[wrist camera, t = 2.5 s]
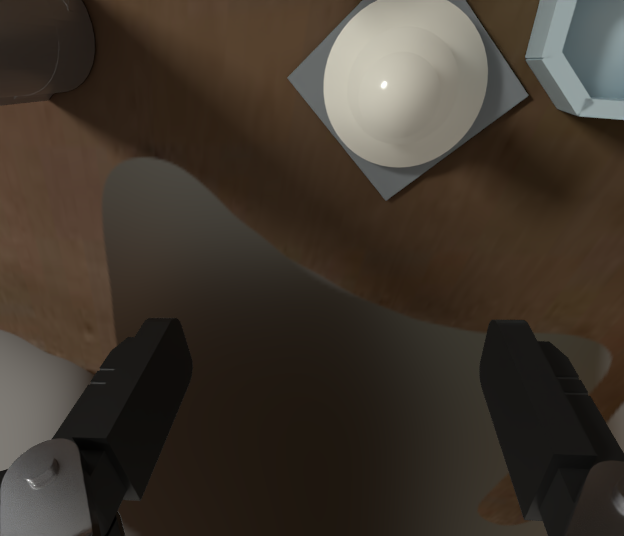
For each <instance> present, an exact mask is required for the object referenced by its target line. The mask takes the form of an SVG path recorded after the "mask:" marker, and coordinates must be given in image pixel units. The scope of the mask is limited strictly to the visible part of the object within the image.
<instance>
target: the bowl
mask: <svg viewBox="0 0 624 536" xmlns="http://www.w3.org/2000/svg"><path fill="white" fill-rule="evenodd" d="M525 58H527V59H526V62H527V63H528V65H529V67H530V68H531V70H532V71H533V73H534V74H535V76H536V77H537V79H538V80H539V82H540V83H541V85H542V86H543V88H544V90H545V91H546V93H547V94H548V96H549V97H550V99H551V100H552V102H553V103H554V105H555V106H556V108H557V109H559V110H561V111H564V112H567V113H571V114H574V115H577V116H581V117H594V118H607V119H619V120H624V0H540V2H539V6H538V10H537V14H536V18H535V22H534V25H533V29H532V33H531V37H530V41H529V45H528V49H527V52H526V56H525Z"/></svg>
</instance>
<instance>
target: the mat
mask: <svg viewBox="0 0 624 536" xmlns="http://www.w3.org/2000/svg"><path fill="white" fill-rule="evenodd" d="M375 1H377V0H362V1H361V2H360V3H359V4H358V5H357V7H356V8H355V9H354V10H353V11H352V12H351V13H350V14H349V15H348V16H347V17H346V18H345V19H344V20H343V21H342V22H341V23H340V24H339V25H338V26H337V27H336V28H335V29H334V30H333V31H332V32H331V33H330V34H329V35H328V36H327V37H326V38H325V39H324V41H323V42H322V43H321V44H320V45H319V46H318V47H317V48H316V49H315V50H314V51H313V52H312V53H311V54H310V55H309V56H308V57H307V58H306V59H305V60H304V61H303V62H302V63H301V64H300V65H299V66H298V67H297V68H296V69H295V70H294V71H293V72H292V73H291V75H290V76H289V77H288V79H289V81H290V82H291V83H292V84H293V86H294V87H295V88H296V89H297V91H298V92H299V93H300V94H301V96H302V97H303V98H304V99H305V101H306V102H307V103H308V104H309V106H310V107H311V108H312V109H313V111H314V112H315V113H316V114H317V116H318V117H319V118H320V119H321V121H322V122H323V123H324V124H325V126H326V127H327V128H328V129H329V131H330V132H331V133H332V134H333V135H334V137H335V138H336V139H337V140H338V142H339V143H340V144H341V145H342V147H343V148H344V149H345V150H346V152H347V153H348V154H349V155H350V157H351V158H352V159H353V160H354V162H355V163H356V164H357V165H358V167H359V168H360V169H361V170H362V172H363V173H364V174H365V175H366V177H367V178H368V179H369V180H370V182H371V183H372V184H373V185H374V187H375V188H376V189H377V190H378V192H379V193H380V194H381V195H382V197H383V198H384V199H385V200H388V199H389V198H391V197H392V196H393V195H395V194H396V193H397V192H399V191H400V190H401V189H403V188H404V187H405V186H407V185H408V184H410V183H411V182H412V181H414V180H415V179H416V178H418V177H419V176H420V175H422V174H423V173H424V172H426V171H427V170H428V169H430V168H431V167H433V166H434V165H435V164H437V163H438V162H439V161H441V160H442V159H443V158H445V157H446V156H447V155H449V154H450V153H452V152H453V151H454V150H456V149H457V148H458V147H460V146H461V145H462V144H464V143H465V142H466V141H468V140H469V139H471V138H472V137H473V136H475V135H476V134H477V133H479V132H480V131H481V130H483V129H484V128H485V127H487V126H488V125H489V124H491V123H492V122H494V121H495V120H496V119H498V118H499V117H500V116H502V115H503V114H504V113H506V112H507V111H508V110H510V109H511V108H513V107H514V106H515V105H517V104H518V103H519V102H521V101H522V100H523V99H525V98H526V97H527V96H529V95H528V94H527V92H526V91H525V89H524V88H523V86H522V85H521V83H520V82H519V80H518V79H517V77H516V76H515V74H514V73H513V71H512V70H511V68H510V67H509V65H508V64H507V62H506V61H505V59H504V58H503V56H502V55H501V53H500V52H499V50H498V49H497V47H496V46H495V44H494V43H493V41H492V40H491V38H490V37H489V35H488V33H487V32H486V30H485V29H484V27H483V26H482V24H481V23H480V21H479V20H478V18H477V17H476V15H475V14H474V12H473V11H472V9H471V8H470V6H469V5H468V3H467V2H466V0H447V1H449V2H451V3H452V4H454V5H455V6H457V7H458V8H459V9H461V10H462V11H463V12H464V13H465V14H466V15H467V16H468V17H469V19H470V20H471V21H472V23H473V24H474V25H475V27H476V29H477V31H478V32H479V34H480V36H481V39H482V42H483V44H484V47H485V52H486V56H487V65H488V81H487V88H486V94H485V97H484V100H483V104H482V106H481V109H480V111H479V113H478V116H477V117H476V119H475V121H474V123H473V124H472V126H471V127H470V129H469V130H468V131H467V133H466V134H465V135H464V136H463V138H462V139H461V140H460V141H459V142H458V143H457V144H456V145H454V146H453V147H452V148H451V149H450V150H448V151H447V152H445V153H444V154H442V155H441V156H439V157H437V158H435V159H433V160H431V161H429V162H426V163H423V164H420V165H416V166H411V167H401V168H399V167H387V166H381V165H378V164H375V163H371V162H369V161H367V160H365V159H363V158H361V157H360V156H358V155H357V154H355V153H354V152H353V151H352V150H350V149H349V148H348V147H347V146H346V145H345V144H344V143H343V142H342V140H341V139H340V138H339V136H338V135H337V133H336V132H335V130H334V128H333V126H332V124H331V122H330V120H329V117H328V114H327V111H326V106H325V101H324V92H323V91H324V74H325V68H326V64H327V60H328V57H329V54H330V51H331V49H332V47H333V45H334V43H335V41H336V39H337V37H338V36H339V34H340V33H341V31H342V30H343V28H344V27H345V26H346V25H347V23H348V22H349V21H350V20H351V19H352V18H353V17H354V16H355V15H356V14H357V13H359V12H360V11H361V10H362V9H364V8H365V7H367V6H368V5H369V4H371V3H373V2H375Z"/></svg>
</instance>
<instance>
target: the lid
mask: <svg viewBox="0 0 624 536" xmlns="http://www.w3.org/2000/svg"><path fill="white" fill-rule="evenodd" d="M487 81H488V65H487V56H486V52H485V47H484V44H483V42H482V39H481V36H480V34H479V32H478V31H477V29H476V27H475V25H474V24H473V23H472V21H471V20H470V19H469V17H468V16H467V15H466V14H465V13H464V12H463V11H462V10H461V9H459V8H458V7H457V6H455V5H454V4H452V3H451V2H449V1H447V0H377V1H375V2H373V3H371V4H369V5H368V6H367V7H365V8H364V9H362V10H361V11H360V12H359V13H357V14H356V15H355V16H354V17H353V18H352V19H351V20H350V21H349V22H348V23H347V25H346V26H345V27H344V28H343V30H342V31H341V33H340V34H339V36H338V37H337V39H336V41H335V43H334V45H333V47H332V49H331V51H330V54H329V57H328V60H327V64H326V68H325V74H324V91H323V92H324V101H325V106H326V111H327V114H328V117H329V120H330V122H331V124H332V126H333V128H334V130H335V132H336V133H337V135H338V136H339V138H340V139H341V140H342V142H343V143H344V144H345V145H346V146H347V147H348V148H349V149H350V150H352V151H353V152H354V153H355V154H357V155H358V156H360V157H361V158H363V159H365V160H367V161H369V162H371V163H375V164H378V165H381V166H387V167H399V168H401V167H411V166H416V165H420V164H423V163H426V162H429V161H431V160H433V159H435V158H437V157H439V156H441V155H442V154H444V153H445V152H447V151H448V150H450V149H451V148H452V147H453V146H454V145H456V144H457V143H458V142H459V141H460V140H461V139H462V138H463V136H464V135H465V134H466V133H467V131H468V130H469V129H470V127H471V126H472V124H473V123H474V121H475V119H476V117H477V116H478V113H479V111H480V109H481V106H482V104H483V100H484V97H485V94H486V88H487Z"/></svg>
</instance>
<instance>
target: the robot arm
mask: <svg viewBox="0 0 624 536" xmlns="http://www.w3.org/2000/svg"><path fill="white" fill-rule="evenodd" d="M94 54H95V40H94V33H93V28H92V23H91V20H90V18H89V15H88V12H87V9H86V7H85V6H84V4H83V2H82V0H0V105H10V104H19V103H29V102H38V101H47V100H49V99H50V97H51V96H52V95H53V94H54V93H59V92H68V91H70V90H73V89H75V88H77V87H78V86H79V85H80V84H82V83H83V82H84V80H85V79H86V77H87V76H88V75H89V73H90V70H91V67H92V65H93V60H94ZM192 369H193V367H192V358H191V355H190V351H189V348H188V345H187V342H186V338H185V335H184V332H183V329H182V325H181V323H180V321H179V320H178V319H177V318H148V319H147V320H145V322H144V323H143V325H142V326H141V328H140V329H139V331H138V333H137V334H136V336H135V337H128V338H126V339H125V340H124V341H123V342H121V343H120V344H119V345H118V346H117V347H115V348H114V349H113V350H112V351H111V352H110V353H109V355H108V356H107V358H106V359H105V361H104V362H103V364H102V365H101V367H100V371H97V373H96V374H95V376H94V377H93V379H92V380H91V384H90V385H88V386H87V388H86V389H85V391H84V392H83V394H82V395H81V397H80V398H79V399H78V401H77V403H76V404H75V405H74V407H73V408H72V410H71V411H70V413H69V414H68V416H67V417H66V419H65V420H64V422H63V423H62V425H61V426H60V428H59V429H58V431H57V432H56V434H55V435H54V437H53V438H52V439H51V440H47V441H45V442H42V443H39V444H37V445H35V446H33V447H32V448H30V449H29V450H27V451H26V452H25V453H23V454H22V455H21V456H20V457H19V458H17V459H16V461H14V463H13V464H12V465H11V466H10V467H9V469H7V470H3V471H0V536H125V532H124V528H123V524H122V519H121V516H120V514H119V513H118V509H119V506H120V504H121V502H122V500H139V501H140V500H141V498H142V496H143V493H144V491H145V489H146V486H147V484H148V482H149V479H150V477H151V474H152V472H153V469H154V467H155V465H156V462H157V460H158V458H159V455H160V453H161V450H162V448H163V445H164V443H165V441H166V438H167V436H168V434H169V431H170V429H171V426H172V424H173V422H174V419H175V417H176V414H177V412H178V410H179V407H180V405H181V402H182V400H183V398H184V395H185V393H186V390H187V388H188V386H189V383H190V380H191V376H192ZM578 377H579V376H578V374H577V373H576V371H575V369H574V367H573V366H572V364H571V362H570V361H569V359H568V357H566V356H565V355H564V354H563V353H562V352H561V351H560V350H558V349H557V348H556V347H555V346H554V345H553V344H551V343H550V342H544V341H543V342H542V341H541V342H540V341H537V340H536V338H535V336H534V334H533V332H532V330H531V328H530V326H529V325H528V323H527V322H526V321H525V320H491V321H490V323H489V326H488V330H487V335H486V339H485V343H484V348H483V352H482V357H481V361H480V382H481V387H482V390H483V393H484V396H485V400H486V402H487V406H488V409H489V412H490V415H491V418H492V421H493V424H494V427H495V431H496V434H497V437H498V440H499V443H500V446H501V449H502V452H503V455H504V459H505V462H506V465H507V468H508V471H509V474H510V477H511V480H512V483H513V486H514V490H515V493H516V496H517V499H518V502H519V505H520V508H521V511H522V514H523V517H524V520H536V521H543V523H544V526H545V528H546V531H547V534H548V536H624V453H623V451H622V450H621V448H620V446H619V445H618V443H617V441H616V439H615V438H614V436H613V435H612V433H611V431H610V429H609V428H608V426H607V424H606V422H605V421H604V419H603V417H602V415H601V414H600V412H599V410H598V409H597V407H596V405H595V403H594V402H593V400H592V398H591V397H590V396H588V391H587V390H586V388H585V386H584V385H583V383H582V381H581V380H579V378H578Z"/></svg>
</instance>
